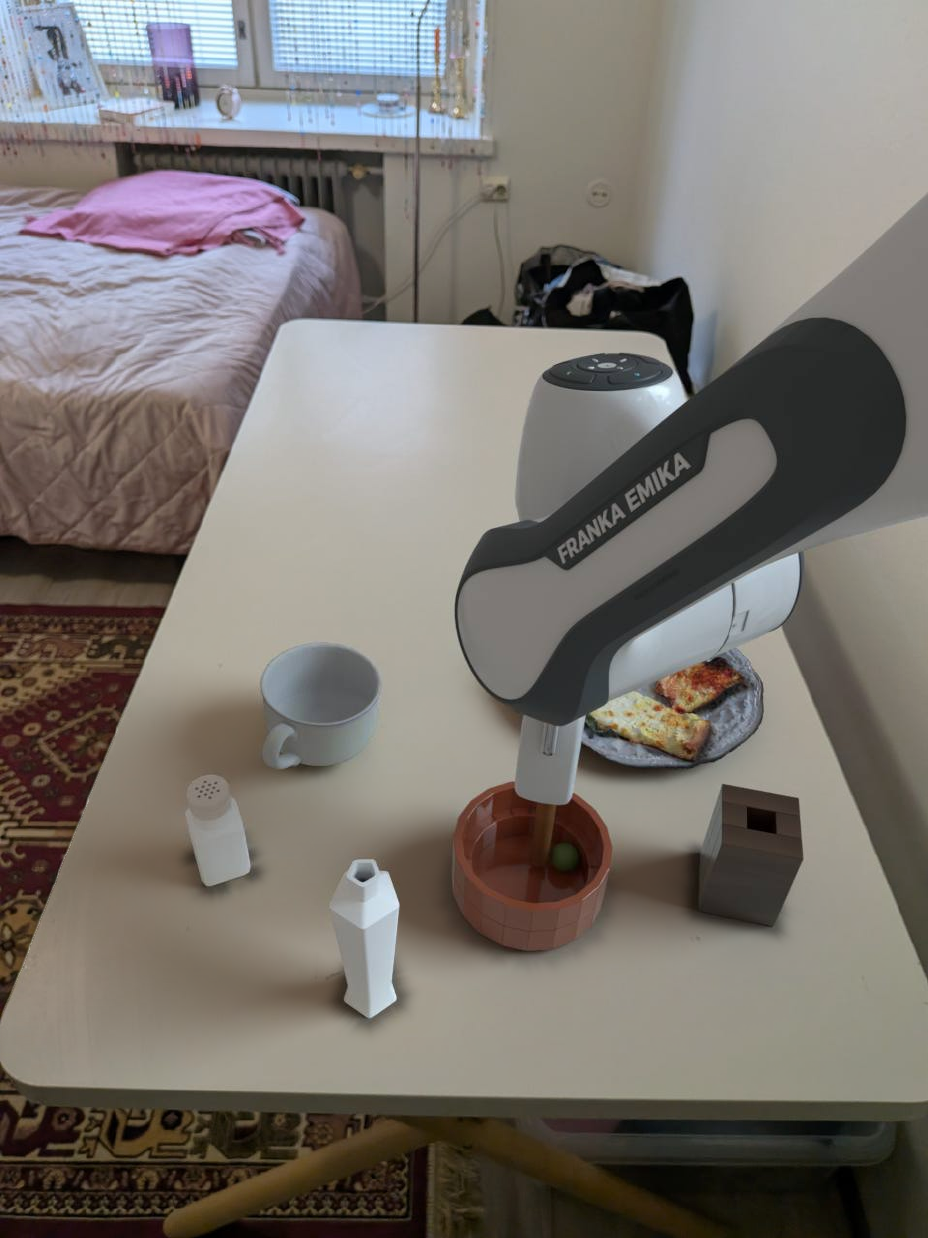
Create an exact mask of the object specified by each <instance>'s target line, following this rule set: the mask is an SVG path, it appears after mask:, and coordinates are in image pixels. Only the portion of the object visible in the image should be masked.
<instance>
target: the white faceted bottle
mask: <svg viewBox="0 0 928 1238" xmlns="http://www.w3.org/2000/svg"><path fill="white" fill-rule="evenodd" d="M329 911H330V915H331V919H332V924H333V929H334V931H335V936H336V937H335V938H336V941H337V945H338V949H339V955H340V958H341V962H342V966H343V970H344V977H345V979H346V984H347V987H346V988H347V989H346V991H345V994H344V996H343V1001H344V1002H345V1004H347V1005H349V1006H350V1007H351V1008H353V1009H354V1010H356V1011H357V1012H358V1013H360V1014H361V1015H363V1016H364V1017H365V1018H367V1019H372V1018H374V1017H375V1016H377V1014H379V1013H381V1012H382V1011H383V1010H385V1009H386V1008H388V1007H389V1006H390V1005H392V1004H394V1003H395V1002H396V1001H397V998H398V997H397V994H396V991H395V988H394V985H393V981H392V980H393V971H394V961H395V953H396V952H395V951H396V945H397V944H396V942H397V934H398V925H399V924H398V923H399V913H400V901H399V899H398V896H397V892H396V890H395V887H394V884H393V882H392V879H391V876H390V873H389V872H388V871H387V870H379V865H378V863H377V861H376V860H375V859H372V858H363V859H360V858H359V859H353V861H352V862H351V864H350V866H349V868H348V870H347V871H345V872H343V874H342V876H341V879H340V881H339V883H338V885H337V887H336V889H335V891H334V894H333V896H332V898H331V900H330V902H329Z"/></svg>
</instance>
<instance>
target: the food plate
mask: <svg viewBox="0 0 928 1238" xmlns="http://www.w3.org/2000/svg"><path fill="white" fill-rule="evenodd" d="M751 663H752V662H750V661H749V658H747V657H746V656H745V655H744V654H743V653H742V651H740V650H739V648H738V647H736V648H734V649H732V650H729V651H727V652H724V653H722V654H720V655H717V656H715V657H712V658H710V659H708V660H706V661H703V662H701V663H699V664H696V665H694V666H691V667H689V668H687V669H684V670H682V671H680V672H677V673H675V674H672V675H670V676H668V677H665V678H663V679H661V680H658V681H656V682H654V683H651V684H649V685H646V686H644V687H642V688H639V689H637V690H635V691H632V692H630V693H627V694H625V695H623V696H620V697H618V698H616V699H613V700H611V701H609V702H607V703H606V705H605V706H603V707H601V708H599V709H597V710H595V711H593V712H591V713H589V714H587V715H586V717H585V723H584V729H583V735H582V741H581V744H582V745H585V746H586V747H589V748H590V749H591V750H593V751H594V752H596V753H597V754H599V755H600V756H601V757H603V758H604V759H607V760H610V761H612V762H615V763H617V764H620V765H621V766H625V767H626V766H628V767H630V768H633V769H642V770H652V769H655V770H658V769H659V770H660V769H663V770H667V769H668V770H673V769H674V770H676V769H678V770H680V769H681V770H689V769H693V768H696V767H698V766H701V765H704V764H705V765H706V764H710V763H711V764H712V763H715V762H717V761H719V760H722V759H723V758H725V757H726V756H727V755H729V754H730V753H732V752H734V751H735V750H736V749H738V747H740V746H741V745H742V744H744V743H746V742H747V741H748V740H749V739H750V738H751V737H752V736H754V735H755V734H756V732H757V731H758V729H759V728H760V726H761V724H762V722H763V718H764V712H765V707H764V704H765V703H764V691H765V688H764V683H763V681H762V679H761V677H760V675H759V674H758V673H757V671H756V670H755V669H754V668H753V667H752V664H751Z"/></svg>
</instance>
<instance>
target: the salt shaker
mask: <svg viewBox="0 0 928 1238" xmlns="http://www.w3.org/2000/svg"><path fill="white" fill-rule="evenodd" d="M185 796H186V800H187V805H188V808H187V809H186V811H185V813H184V815H185V816H184V817H185V820H186V824H187V829H188V833H189V837H190V841H191V845H192V849H193V854H194V857H195V860H196V864H197V868H198V872H199V875H200V879H201V882H202V883H203V884H204V885H205V886H206V887H213V886H215V885H216V886H217V885H219V884H222V883H225V882H228V881H231V880H234V879H238V878H240V877H243V876H246V875H247V874H248V873H250V871H251V867H252V866H251V865H252V864H251V860H250V854H249V853H250V852H249V848H248V842H247V838H246V833H245V832H246V831H245V827H244V823H243V820H242V817H241V814H240V809H239V807H238V804H237V801H236V798H234V797H232V795H231V790H230V785H229V782H227V781H226V779H225V778H224V777H222V776H220V775H217V774H215V773H213V774H204V775H203V774H202V775H201V776H199V777H198V778H196V779H193V780H192V781H191V783H190V784H189V785H188V787H187V788H186V795H185Z"/></svg>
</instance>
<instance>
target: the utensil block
mask: <svg viewBox="0 0 928 1238" xmlns="http://www.w3.org/2000/svg"><path fill="white" fill-rule="evenodd" d="M701 845H702V846H701V848H700V851H699V881H698V884H699V885H698V912H702V913H706V914H710V915H716V916H722V917H725V918H730V919H734V920H735V919H736V920H739V921H744V922H750V923H755V924H759V925H764V926H770V927H775V925H776V922H777V920H778V918H779V916H780V913H781V912H782V909H783V906H784V904H785V903H786V900H787V897H788V895H789V893H790V891H791V889H792V886H793V884H794V882H795V879H796V877H797V875H798V872H799V870H800V868H801V867H802V863H803V861H804V859H805V858H804V846H803V833H802V819H801V807H800V799H799V797H795V796H790V795H785V794H779V793H774V792H769V791H763V790H759V789H753V788H748V787H743V786H736V785H731V784H726V783H722V784H721V785H720V790H719V793H718V796H717V799H716V802H715V805H714V808H713V811H712V814H711V818H710V821H709V824H708V827H707V831H706V832H705V836H704V840H703V842H702V844H701Z"/></svg>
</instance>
